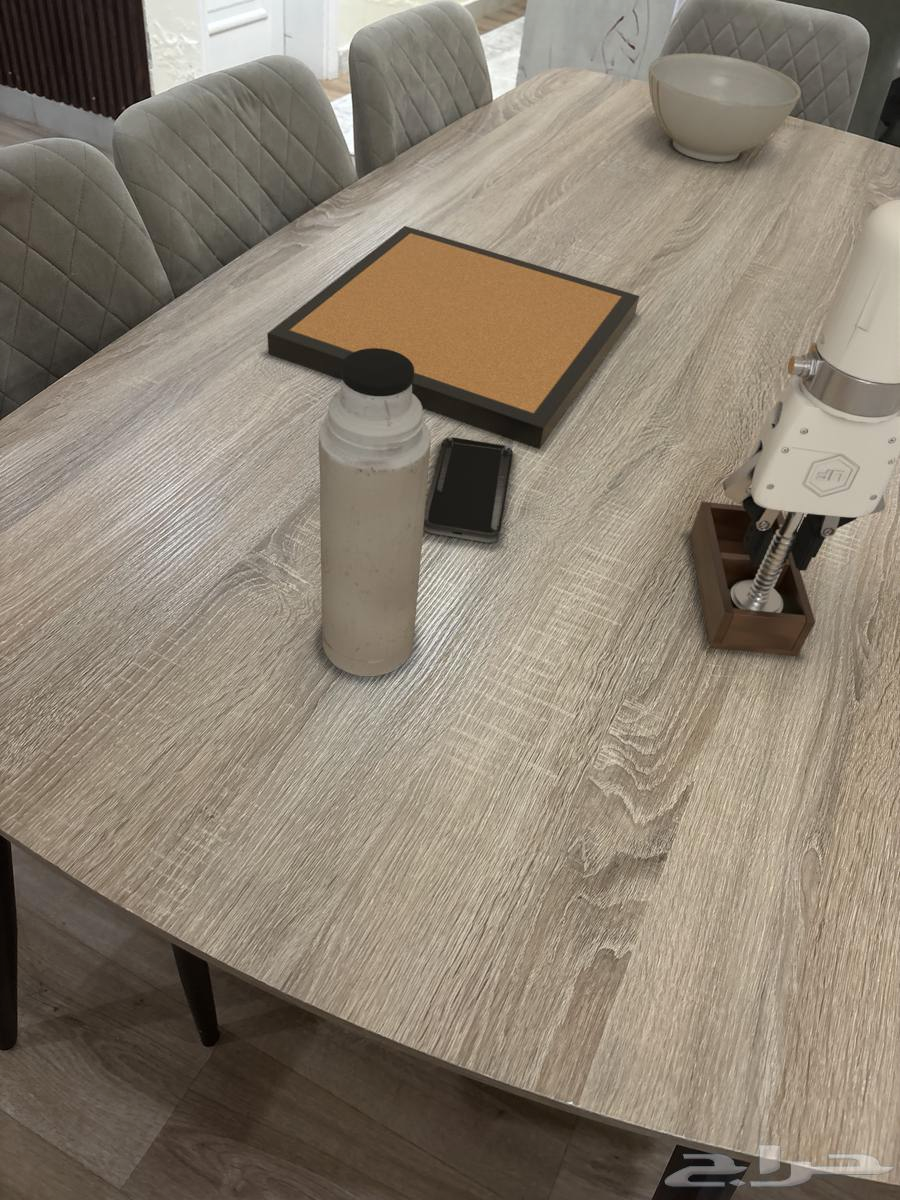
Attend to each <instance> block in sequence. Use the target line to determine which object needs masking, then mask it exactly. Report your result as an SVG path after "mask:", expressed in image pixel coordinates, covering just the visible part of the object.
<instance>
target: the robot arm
mask: <svg viewBox="0 0 900 1200" xmlns="http://www.w3.org/2000/svg"><path fill="white" fill-rule="evenodd" d="M787 374H789V375H794V376H793V378H792V379H791V380H790V381H789V383H788V384H787V385H786V386H785V388H784V390H783V391H782V393H781V394H780V396H779V397H778V399H777V400H776V402H775V404H774V405H773V407H772V409H771V410H770V412H769V413H768V416H767V417H766V419H765V421H764V423H763V424H762V426H761V429H760V431H759V433H758V435H757V437H756V439H755V441H754V444H753V446H752V449H751V450H750V453H749V455H748V458H747V460H746V461H745V462H744V463H743V464H742V465H741V466H739V468H738V469H735V471H733V473H731V474H730V475H729V476H728V477H727V478H725V479H724V480H723V481H722V487H723V491H724V495H725V496H726V497H727V498H729V499H730V500H731V501H733V502H735V503H736V504H737V505H741V506H743V507H744V509H745V510H746V512H747V513H748V514H749V516H750V517H751V518H752V520H751V522H750V524H749V527H748V529H747V532H746V534H745V536H744V540H743V546H744V550H745V551H748V553H749V557H750V561H751V565H752V566H759V565H761V563H762V561H763V559H764V557H765V554H766V552H767V550H768V548H769V545H770V543H771V541H772V539H773V536H774V531H773V527H772V525H773V523H774V521H775V519H776V518H777V516H778V515H779V513H780V512H781V511H782V512H787V513H788V512H797V513H804V514H806V516H803V518H802V521H801V523H800V525H799V527H798V529H797V534H798V535H797V537H796V542H795V543H794V545H793V548H792V549H791V552H792V555H793V559H794V562H795V565H796V568H797V569H798V570H800V572H806V570H807V569H808V567H809V565H810V562H811V561H812V559H814V558H816V557H817V555H818V553H819V552H820V550H821V547H822V545H823V543H824V541H825V539H826V538H830V537H832V536H834V535H835V534H836V532H837V529H839V528H841V527H843V526H845V525H847V524H850V523H852V522H854V521H856V520H857V519H859V518H862V517H866V516H869V515H872V514H876V513H879V512H882V511H883V510H885V508H886V502H885V497H884V493H885V491H886V489H887V488H888V485H889V482H890V480H891V478H892V476H893V473H894V470H895V468H896V466H897V463H898V461H899V458H900V198H899V199H892V200H889V201H887V202H884V203H882V204H881V205H879V206H878V207H876V208H875V209H874V210H873V211H872V212H871V213H870V214H869V216H868V218H867V219H866V220H865V223H864V225H863V226H862V229H861V231H860V233H859V235H858V238H857V240H856V243H855V246H854V247H853V250H852V252H851V256H850V258H849V260H848V262H847V265H846V268H845V270H844V272H843V275H842V277H841V279H840V282H839V285H838V287H837V289H836V292H835V294H834V297H833V299H832V302H831V305H830V307H829V309H828V312H827V314H826V317H825V319H824V321H823V324H822V326H821V328H820V331H819V333H818V335H817V339H816V341H815V342H812V344H811V345H810V348H809V351H808V353H806V354H802V355H801V356H799V355H792V356H790V358H789V360H788V363H787Z"/></svg>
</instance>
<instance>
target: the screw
mask: <svg viewBox="0 0 900 1200" xmlns="http://www.w3.org/2000/svg"><path fill="white" fill-rule="evenodd" d="M804 515H805V513H797V512H788V511H787V513H786V516H785V517H784V519H785V520H784V522H783V524H781V525H780V529H778V530H776V534H775V535H774V536H773V540H772V541H771V544H770V545H769V549H768V550H767V552H766V553H767V554H766V555H765V557H764V559H763V561H762V564H761V565H760V569H758V573H757V574H756V578H755V579H754V580H744V581H740V582H737V583H736V584H735V585H734V586H733V587H732V589H731V591H730V599H731V602H732V604H733V605H734V607H735V608H736V609H746V610H756V611H766V612H776V613H781V611H782V609H783V600H782V598H781V596H780V595H779V593H778V592H777V591H776V590H775V589H774V588H773V587H774V586H775V583H776V582H777V579H778V577H779V576H780V573H781V571H782V568H783V567H784V564H785V563H786V560H787V558H788V557H789V554H790V552H791V549H792V548H793V545H794V543H795V542H796V537H797V535H798V534H797V531H798V529H799V527H800V525H801V523H802V521H803V519H804V517H805V516H804Z"/></svg>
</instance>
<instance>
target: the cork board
mask: <svg viewBox="0 0 900 1200" xmlns="http://www.w3.org/2000/svg"><path fill="white" fill-rule="evenodd" d="M639 299H640V295H638V294H634V293H630V292H628V291H624V290H621V289H617V288H614V287H611V286H608V285H604V284H601V283H597V282H595V281H591V280H588V279H584V278H581V277H578V276H574V275H570V274H568V273H564V272H560V271H557V270H554V269H550V268H548V267H544V266H540V265H537V264H534V263H530V262H527V261H523V260H520V259H517V258H513V257H511V256H508V255H503V254H500V253H497V252H493V251H491V250H487V249H483V248H480V247H477V246H473V245H470V244H467V243H463V242H460V241H458V240H454V239H450V238H446V237H443V236H440V235H437V234H433V233H431V232H426V231H423V230H420V229H417V228H413V227H409V226H406V225H404V226H403V227H401V228H400V229H399V230H397V231H396V232H395V233H394V234H393V235H391V236H389V238H387V239H385V241H383V242H382V243H381V244H379V245H378V246H377V247H376V248H374V249H373V250H372V251H371V252H370V253H368V254H367V255H366V256H364V257H363V258H362V259H361V260H359V261H358V262H357V263H355V264H354V265H353V266H352V267H350V268H349V269H348V270H346V271H344V273H342V275H340V276H339V277H337V278H336V279H335V280H334V281H332V282H330V284H329V285H328V286H326V287H325V288H324V289H322V290H321V291H319V292H318V293H317V294H316V295H314V296H313V297H312V298H310V299H309V300H308V301H306V302H305V303H304V304H303V305H302V306H300V307H299V308H298V309H297V310H295V311H294V312H293V313H292V314H290V315H289V316H288V317H286V318H285V319H284V320H282V321H281V322H279V323H278V324H277V325H276V326H275V327H274V328H272V329H271V330H270V331H269V332H267V334H266V335H267V349H268V351H267V352H268V355H271V356H274V357H276V358H279V359H282V360H285V361H288V362H291V363H293V364H296V365H299V366H301V367H304V368H308V369H311V370H313V371H316V372H319V373H321V374H324V375H328V376H330V377H333V378H337V379H339V380H342V377H341V364H342V362H343V360H344V359H345V358H346V357H347V356H348V355H349V354H351V353H353V352H355V351H359V350H362V349H369V348H381V349H388V350H392V351H395V352H398V353H400V354H402V355H404V356H405V357H406V358H408V359H409V360H410V361H411V362H412V364H413V366H414V379H413V383H412V393H413V394H414V395H415V396H416V397H417V398H418V400H419V401H420V403H421V405H422V408H423V410H424V409H425V410H427V411H430V412H434V413H436V414H439V415H442V416H444V417H448V418H450V419H453V420H456V421H459V422H461V423H464V424H466V425H467V424H468V425H470V426H472V427H476V428H479V429H481V430H484V431H486V432H490V433H493V434H496V435H499V436H501V437H505V438H507V439H510V440H512V441H516V442H518V443H522V444H524V445H527V446H530V447H533V448H535V449H539V450H540V449H541V448H542V446H543V444H545V442H546V441H547V439H548V438H549V436H550V435H551V434H552V432H553V431H554V430H555V428H556V427H557V425H558V424H559V422H561V420H562V418H563V417H564V415H565V414H566V413H567V411H568V410H569V408H570V407H571V405H572V404H573V403H574V401H575V400H576V398H577V397H578V396H579V395H580V393H581V391H582V390H583V388H584V387H585V386H586V384H587V383H588V382H589V380H590V379H591V378H592V376H593V375H594V373H595V372H596V370H597V369H598V368H599V366H600V365H601V363H602V362H603V360H605V358H606V356H607V355H608V353H609V352H610V351H611V350H612V348H613V346H614V345H615V344H616V342H617V341H618V339H619V338H620V336H621V335H622V334H623V333H624V331H625V329H627V327H628V325H629V324H630V323H631V321H632V319H633V318H634V317H635V316H636V311H637V308H638V303H639Z"/></svg>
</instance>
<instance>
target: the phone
mask: <svg viewBox="0 0 900 1200" xmlns="http://www.w3.org/2000/svg"><path fill="white" fill-rule="evenodd" d="M513 455H514V451H513V448H511V447H509V446H507V445H504V444H497V443H491V442H486V441H485V442H484V441H478V440H472V439H468V438H467V439H466V438H460V437H453V436H449V437H446V438H444V439H443V440H442V442H441V445H440V449H439V452H438V455H437V458H436V459H437V460H436V463H435V467H434V473H433V476H432V480H431V485H430V488H429V492H428V496H427V499H426V503H425V514H424V526H423V532H425V533H427V534H430V535H433V536H439V537H446V538H452V539H458V540H463V541H464V540H465V541H471V542H477V543H482V544H494V543H496V542H498V540H499V539H500V535H501V529H502V522H503V518H504V510H505V504H506V498H507V491H508V486H509V480H510V474H511V468H512V461H513Z"/></svg>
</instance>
